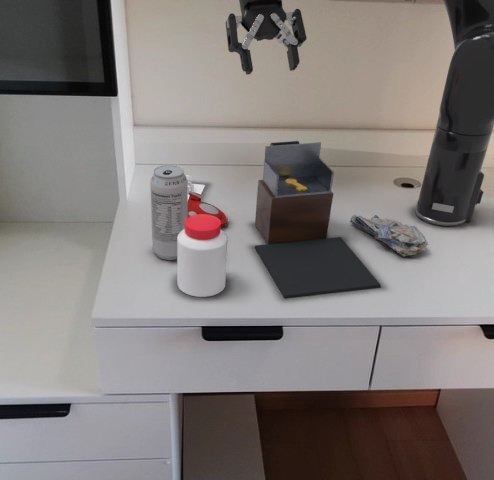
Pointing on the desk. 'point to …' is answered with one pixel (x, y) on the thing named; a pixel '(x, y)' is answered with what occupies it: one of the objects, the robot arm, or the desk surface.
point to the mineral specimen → (393, 234)
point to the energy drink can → (168, 209)
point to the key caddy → (296, 169)
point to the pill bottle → (201, 256)
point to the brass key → (295, 184)
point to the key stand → (292, 216)
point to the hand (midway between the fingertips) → (272, 70)
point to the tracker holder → (203, 208)
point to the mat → (315, 267)
